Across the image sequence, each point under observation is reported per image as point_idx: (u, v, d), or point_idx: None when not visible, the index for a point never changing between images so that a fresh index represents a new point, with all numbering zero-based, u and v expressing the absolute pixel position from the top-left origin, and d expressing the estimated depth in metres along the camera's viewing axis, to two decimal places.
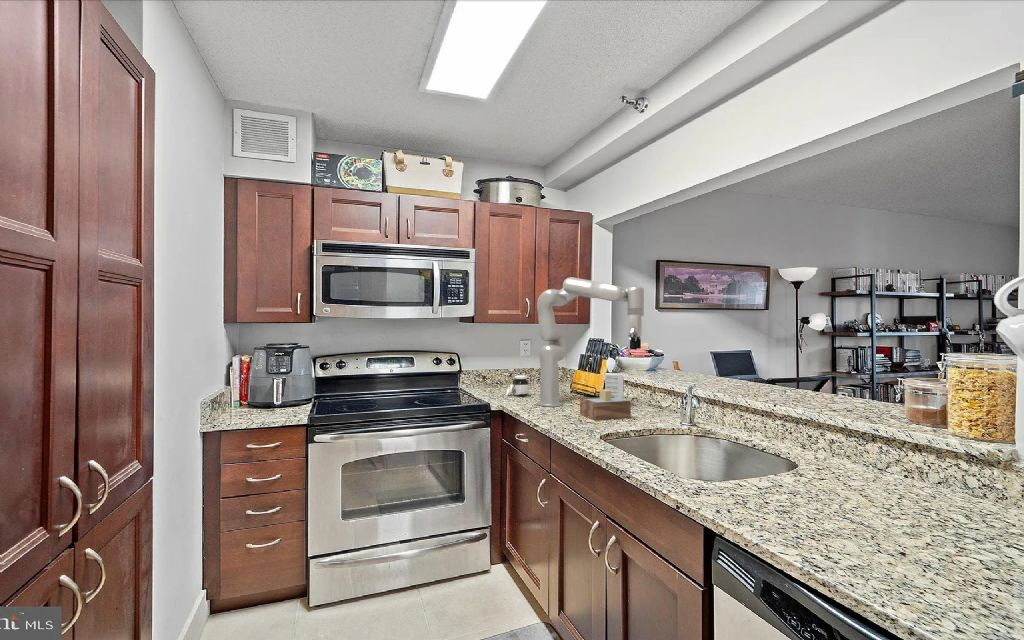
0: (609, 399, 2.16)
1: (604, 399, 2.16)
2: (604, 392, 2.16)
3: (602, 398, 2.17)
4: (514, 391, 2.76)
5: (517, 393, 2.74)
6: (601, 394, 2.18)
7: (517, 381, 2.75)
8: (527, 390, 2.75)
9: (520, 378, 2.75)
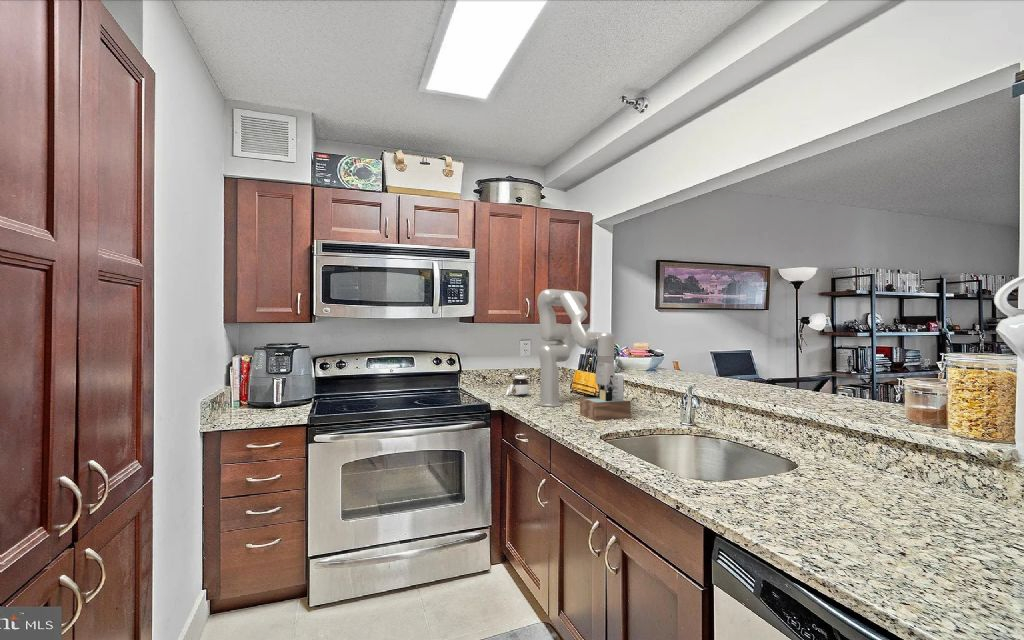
0: None
1: (604, 399, 2.16)
2: (604, 392, 2.16)
3: (602, 398, 2.17)
4: (514, 391, 2.76)
5: (517, 393, 2.74)
6: (601, 394, 2.18)
7: (517, 381, 2.75)
8: (527, 390, 2.75)
9: (520, 378, 2.75)
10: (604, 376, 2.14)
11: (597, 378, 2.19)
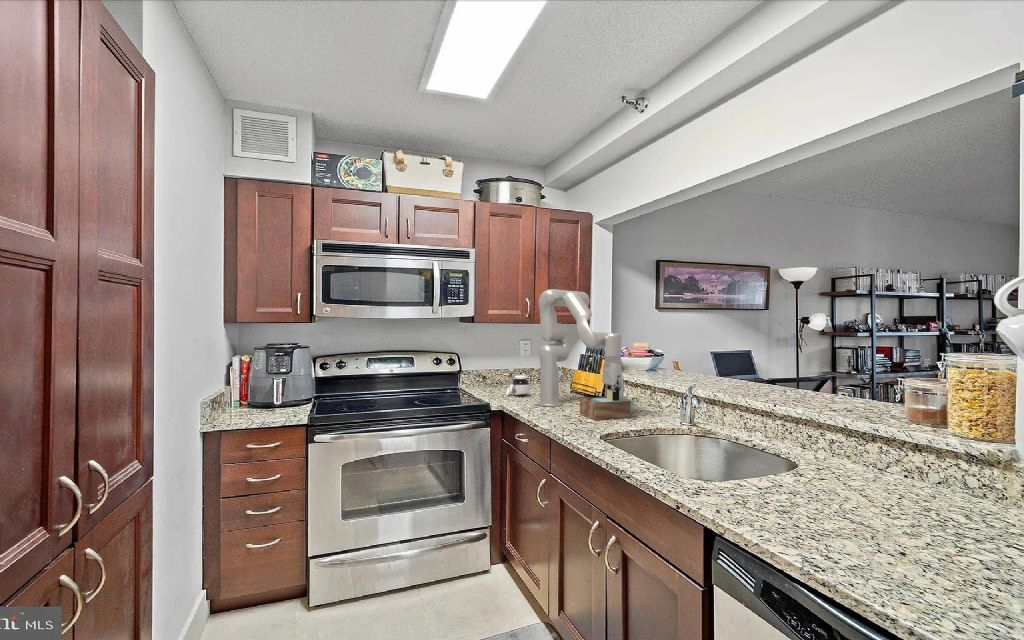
0: None
1: (611, 399, 2.17)
2: (611, 392, 2.17)
3: (609, 398, 2.19)
4: (514, 391, 2.76)
5: (517, 393, 2.74)
6: (608, 394, 2.20)
7: (517, 381, 2.75)
8: (527, 390, 2.75)
9: (520, 378, 2.75)
10: (611, 376, 2.15)
11: (604, 378, 2.21)
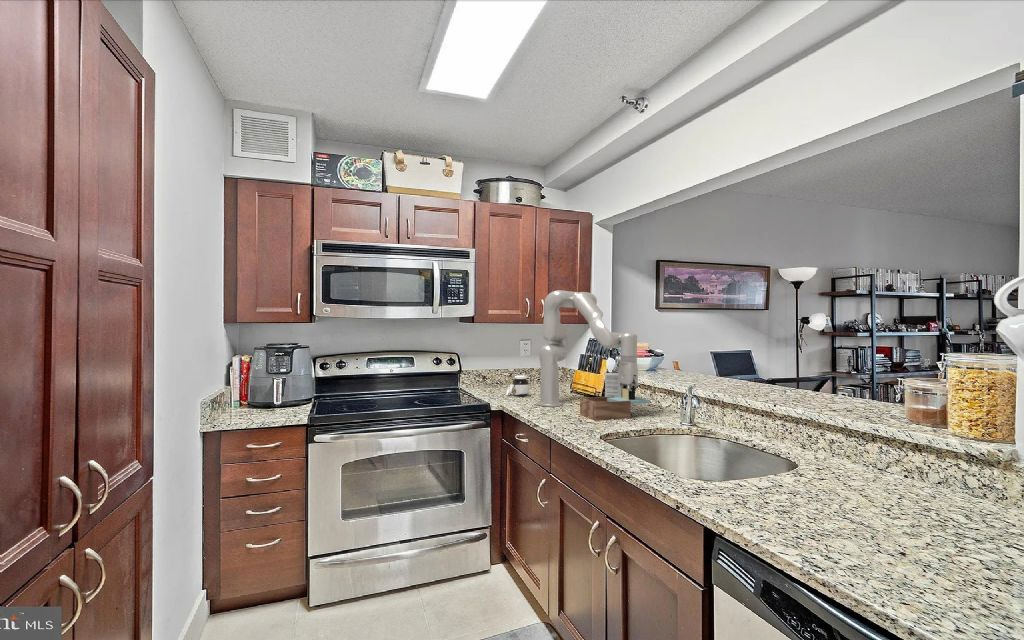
0: None
1: (627, 398, 2.20)
2: (627, 391, 2.20)
3: (625, 397, 2.22)
4: (514, 391, 2.76)
5: (517, 393, 2.74)
6: (624, 393, 2.23)
7: (517, 381, 2.75)
8: (527, 390, 2.75)
9: (520, 378, 2.75)
10: (627, 375, 2.18)
11: (620, 377, 2.24)
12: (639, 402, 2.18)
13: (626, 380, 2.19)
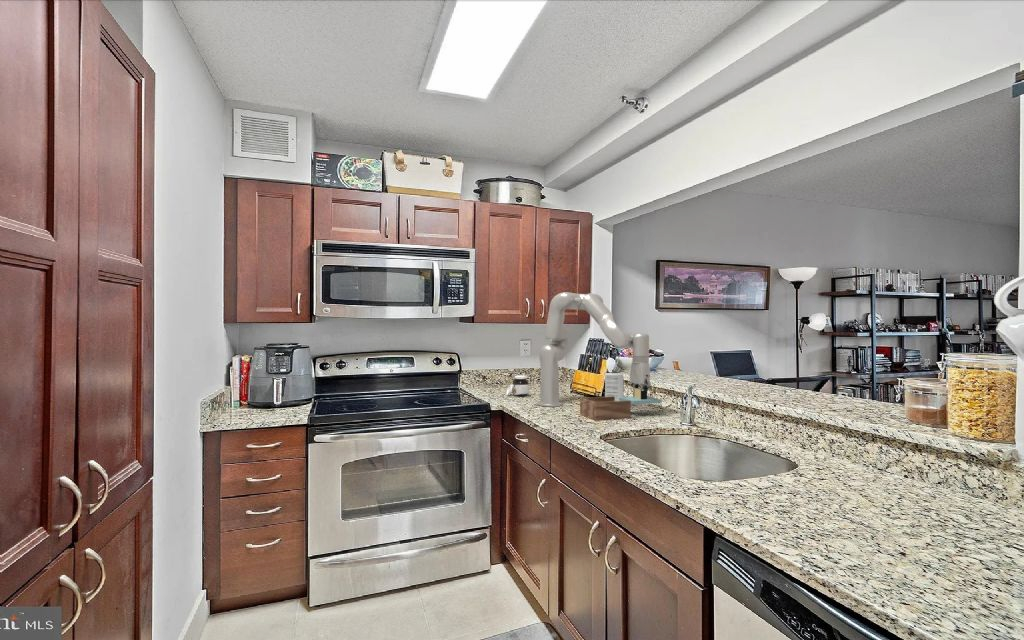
0: None
1: (639, 397, 2.23)
2: (639, 391, 2.23)
3: (637, 396, 2.24)
4: (514, 391, 2.76)
5: (517, 393, 2.74)
6: (636, 392, 2.25)
7: (517, 381, 2.75)
8: (527, 390, 2.75)
9: (520, 378, 2.75)
10: (639, 375, 2.21)
11: (632, 377, 2.26)
12: (651, 402, 2.20)
13: (638, 380, 2.21)
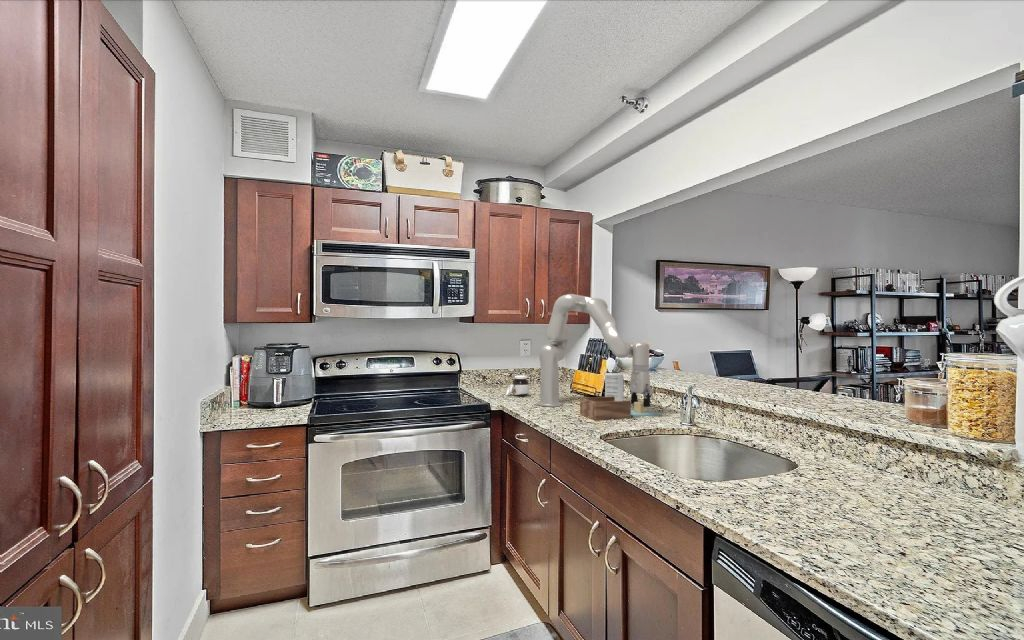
0: (644, 411, 2.22)
1: (639, 411, 2.22)
2: (639, 405, 2.23)
3: (637, 410, 2.24)
4: (514, 391, 2.76)
5: (517, 393, 2.74)
6: (636, 406, 2.25)
7: (517, 381, 2.75)
8: (527, 390, 2.75)
9: (520, 378, 2.75)
10: (640, 384, 2.21)
11: (632, 386, 2.26)
12: None
13: (638, 389, 2.21)
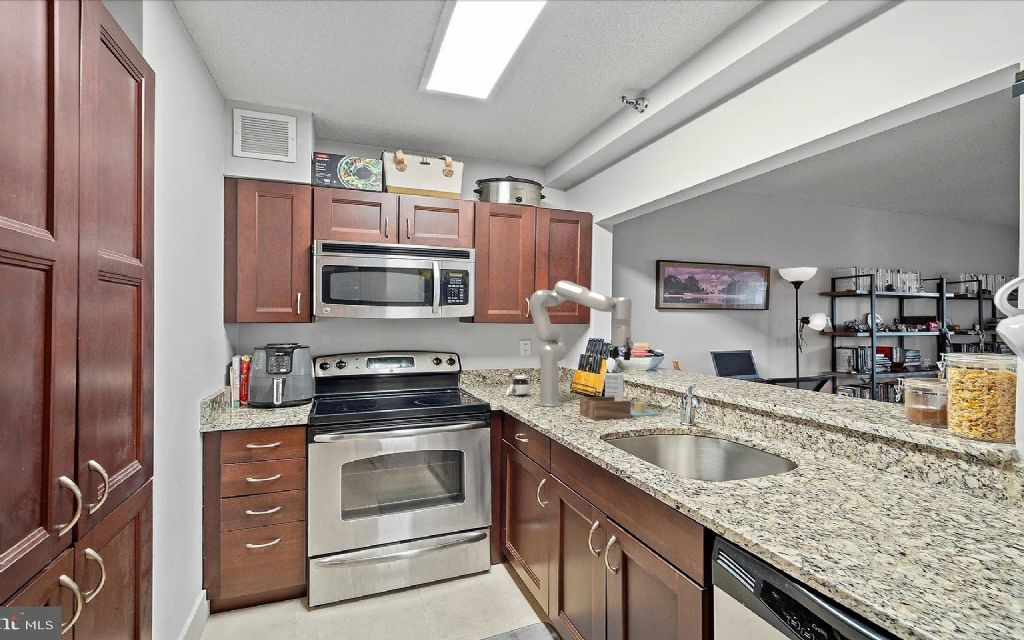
0: (644, 411, 2.22)
1: (639, 411, 2.22)
2: (639, 404, 2.23)
3: (637, 410, 2.24)
4: (514, 391, 2.76)
5: (517, 393, 2.74)
6: (636, 406, 2.25)
7: (517, 381, 2.75)
8: (527, 390, 2.75)
9: (520, 378, 2.75)
10: (621, 338, 2.23)
11: (613, 340, 2.29)
12: None
13: (619, 343, 2.24)
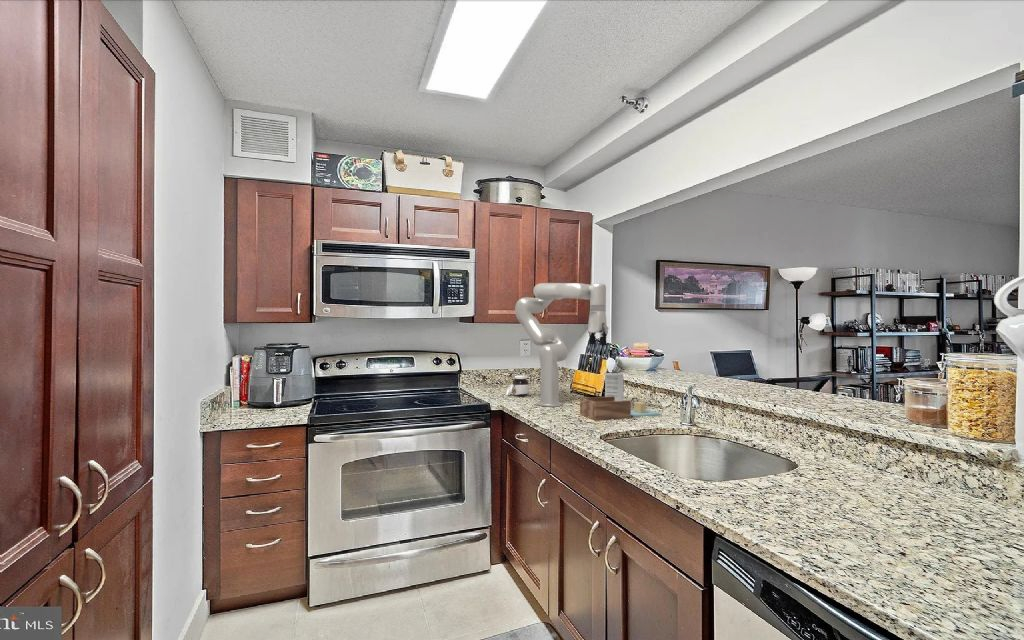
0: (644, 411, 2.22)
1: (639, 411, 2.22)
2: (639, 405, 2.23)
3: (637, 410, 2.24)
4: (514, 391, 2.76)
5: (517, 393, 2.74)
6: (636, 406, 2.25)
7: (517, 381, 2.75)
8: (527, 390, 2.75)
9: (520, 378, 2.75)
10: (596, 323, 2.26)
11: (590, 327, 2.32)
12: None
13: (595, 328, 2.27)
